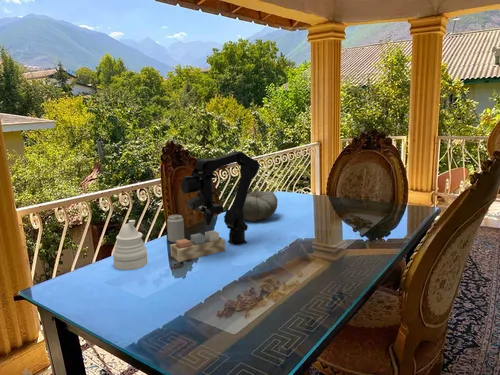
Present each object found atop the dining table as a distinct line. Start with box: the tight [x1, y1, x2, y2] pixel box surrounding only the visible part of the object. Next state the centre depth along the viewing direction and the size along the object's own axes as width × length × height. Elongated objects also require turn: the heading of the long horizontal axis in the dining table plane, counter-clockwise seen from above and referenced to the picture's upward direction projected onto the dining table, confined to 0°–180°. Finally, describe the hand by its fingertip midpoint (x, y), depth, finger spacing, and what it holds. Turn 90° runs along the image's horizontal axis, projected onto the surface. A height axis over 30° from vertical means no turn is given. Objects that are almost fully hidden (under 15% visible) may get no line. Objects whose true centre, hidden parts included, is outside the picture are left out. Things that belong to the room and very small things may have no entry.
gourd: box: [243, 188, 279, 222], centre depth 213 cm, size 25×25×17 cm
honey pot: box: [112, 219, 149, 271], centre depth 151 cm, size 13×13×18 cm
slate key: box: [190, 232, 205, 245], centre depth 161 cm, size 4×4×5 cm
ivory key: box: [204, 229, 220, 242], centre depth 165 cm, size 4×4×5 cm
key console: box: [169, 236, 226, 263], centre depth 162 cm, size 22×8×5 cm, turn 124°
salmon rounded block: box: [175, 238, 190, 249], centre depth 158 cm, size 4×4×5 cm
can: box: [166, 214, 185, 244], centre depth 178 cm, size 8×8×12 cm
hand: (208, 225), depth 163 cm, fingers closed
